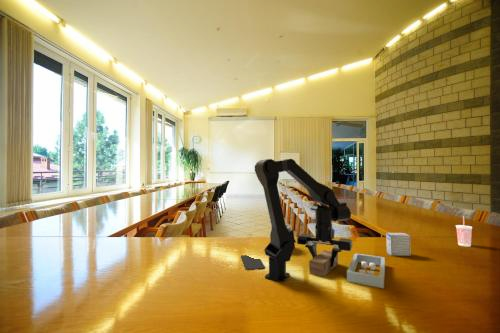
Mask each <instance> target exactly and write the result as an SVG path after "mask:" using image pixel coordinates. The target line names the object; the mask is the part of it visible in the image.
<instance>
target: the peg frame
mask: <svg viewBox="0 0 500 333" xmlns="http://www.w3.org/2000/svg"><path fill="white" fill-rule="evenodd" d="M385 259H386V257H384V256H377V255H370V254H362V253H361V254H360V253H354V254H353V257H352V259H351V261H350V264H349V266H348V268H347V270H346V282H349V283H354V284H358V285H359V284H360V285H365V286H369V287H373V288H379V289H380V288H381V289H384V288H385V271H386V260H385ZM358 264H361V269H358V271H356V268H357V266H358ZM376 266H379V273H378V274H379V275H376V274H375V272H374V271H376ZM368 268H369V270H367V269H368ZM366 270H367V272H366Z"/></svg>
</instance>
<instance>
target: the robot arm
mask: <svg viewBox="0 0 500 333" xmlns="http://www.w3.org/2000/svg"><path fill="white" fill-rule="evenodd" d="M254 172H255V174H256V177H257V179H258V181H259V183H260V185H261V186H262V188H263V192H264V197H265V201H266V207H267V211H268V215H269V220H270V221H269V222H270V224H271V230H270V235H269V236H270V240H269V241H270V242H268V245H267V246H266V247H265V248H264V250H263V251H264V254H265V255H266V256H268V273H267V274H265V276H264V278H265V279H269V280H273V281H277V282H283V283H284V282H285V280H287V278H288V277H290V275H291V274H290V272H287V262H290V261H291V259H292V255H293V251H294V250H295V249H296V244H297V245H302V246H305V248H307V249H308V251H309V252H310V254H311V257H312V258H314V257H315V256H317V255H318V252H317V251H318V250H317V246H318V245H327V246H328V245H329V246H332V247H333V248H332V249H331V251H332V257H331V267H333V265H334V262H335V259H336V256H337V254H338V255H339V253H341V252H343V251H346V252H350V251H351V250H352V248H353V240H352V239H351V238H343V237H341V238H339V239H338V240H337V239H335V235H336V234H335V232H336V230H335V229H334V228H333V222H342V221H344V222H345V221H349V220H350V219H351V218H352V212H351V210H350V208H349V206H348V204H347V202H344V201H342V202H341V201H339V200H338V198H337V196H336V195H335V191H334V190H333V189H332V188H330V187H328V186H327V185H325V184H322V183H321V182H319V181H317V180H316V179H315V178H314V177H313V176H312V175H310V174H309V173H308V172H307V170H305V169H303V168H302V167H301V165H299V164H298V163H297V161H296V160H295V159H292V158H286V159H283V160H277V161H276V160H274V159H272V158H267V159H260V160H258V161H257V162H256V164H255V165H254ZM282 172H286V173H287V174H288V175H289V176H290V177H291V178H293V179H294V180H295V181H296V182H298V184H299V185H301V186H302V187H303V188H304V189H305V190H307V192H308V194H309V197H310V198H311V199H312V200H313V201H314V202H315V203H314V204H313V205H312V206H311V207H310V210H311V211H315V225H314V227H315V228H314V229H315V237H313V236H312V234H308V233H301V234H299V236H297V238H296V239H295V232H294V230H292V229H291V230H290V229H287V227H286V225H287V224H286V221H285V216H284V211H283V207H282V206H283V205H282V201H281V196H280V192H279V188H278V181H279V177H280V173H282ZM320 204H321V205H320ZM295 243H296V244H295ZM351 252H352V251H351Z"/></svg>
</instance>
